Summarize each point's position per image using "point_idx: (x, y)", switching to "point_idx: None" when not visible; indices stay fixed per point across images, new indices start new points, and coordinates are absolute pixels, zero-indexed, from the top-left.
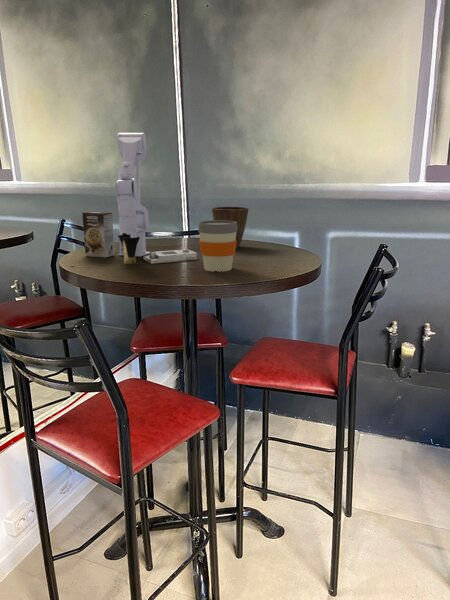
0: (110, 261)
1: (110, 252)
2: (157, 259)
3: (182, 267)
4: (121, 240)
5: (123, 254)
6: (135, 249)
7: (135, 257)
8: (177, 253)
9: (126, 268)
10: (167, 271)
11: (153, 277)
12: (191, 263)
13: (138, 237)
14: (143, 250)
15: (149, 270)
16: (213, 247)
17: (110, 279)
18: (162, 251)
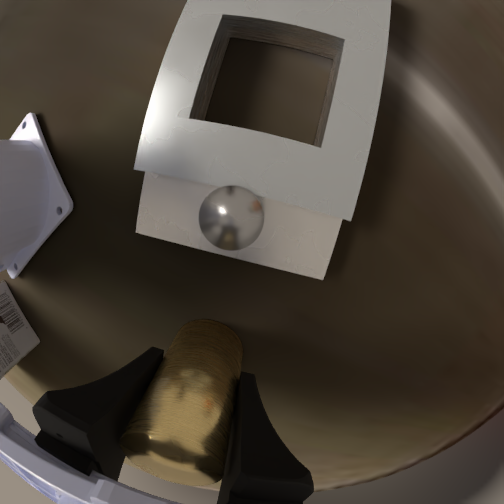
0: None
1: (10, 314)
2: (329, 225)
3: (496, 195)
4: (123, 458)
5: (22, 267)
6: (264, 411)
7: (226, 350)
8: (329, 35)
9: (321, 409)
10: (495, 300)
11: (492, 374)
12: (454, 85)
13: (312, 491)
14: (32, 170)
15: (433, 353)
16: None
17: (404, 461)
18: (169, 80)
